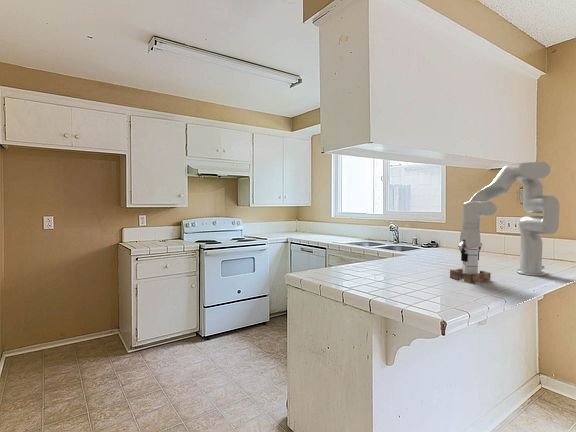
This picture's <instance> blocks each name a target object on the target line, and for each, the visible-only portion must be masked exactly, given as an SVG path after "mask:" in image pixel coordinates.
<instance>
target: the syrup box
mask: <svg viewBox="0 0 576 432" xmlns="http://www.w3.org/2000/svg"><path fill="white" fill-rule="evenodd" d="M464 250H466V249H464ZM467 254H468V261H467V262H465V261H462V268H463V274H464V273H469V274H478V273H479V260H478V248H477V247H472V248H471V249H468V252H467Z"/></svg>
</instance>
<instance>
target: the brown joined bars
mask: <svg viewBox="0 0 576 432" xmlns="http://www.w3.org/2000/svg"><path fill="white" fill-rule="evenodd" d="M462 277H463V282H465V283H469V284H477V283H484V282H490V281H491V272H489V271H485V270H479V272H478V274H469V273H464V274H463V267H461V268H454V269H449V278H451V280H452V279H453V280H457V281H458V280H461V278H462Z"/></svg>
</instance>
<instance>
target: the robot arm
mask: <svg viewBox="0 0 576 432" xmlns="http://www.w3.org/2000/svg"><path fill="white" fill-rule="evenodd" d="M550 173H551V166H550V164H548V163H547V162H546V161H533V162H517V163H510V164H509V163H508V164H506V165H504V166H503V167H502V168H501V170H500V171H499V172H498V173H497V175H496V176H495V177H494V178H493V180H492V182H491V183H490V184H488V185H487V186H485V187H482V189H480V190H478V191H477V192H476V193H475V194H474V195H473V196H472V197H471V198H470V200H469V201H466V202H463V204H462V225H461V226H462V228H461V231H460V235H459V236H460V237H459V244H458V245H457V247H458V248H459V249H458V250H459V251H460V254H461V257H460V258H461V259H460V261H461V262H463V261H465V262H467V261H468V254H467V252H468V249H471V248H472V247H477V248H478V261H480V253H481V249H482V246H483V243H482V242H481V231H480V227H481V226H480V219H481V217H491V216H494V215H495V214H496V213H497V209H498V208H497V205H496V204H495V203H494V202H493V201H489V200H492V199H495V198H498V197H501V196H503V195H505V194H507V193H508V191H509V189H510V188H511V187H512V186H513V184H515V182H516V181H519V183H521V185H522V188H523V190H522V192H523V196H522V207H523V208H522V209H523V211H524V212H526V213H528V214H542V215H525V216H523V217H521V218H520V219H519V221H518V229H519V232H520V255H519V256H520V258H519V268H518V269H516V273H517V274H521V275H527V276H535V277H536V276H537V277H538V276H539V277H542V276H546V272H544V271H542V270H544V269H546V267H545V265H543V239H542V237H541V236H540V235H547V236H549V235H550V236H551V235H554V234H556V233H557V232H558V230H559V227H560V225H559V224H560V208H561V207H560V202H559V199H558V198H557V197H556V196H554V195H552V194H551V195H550V194H549V195H547V194H545V195H544V186H543V183H542V182H541V180H540V179H546V178H547V177H548V176H549V175H550ZM464 249H466V250H464Z"/></svg>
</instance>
